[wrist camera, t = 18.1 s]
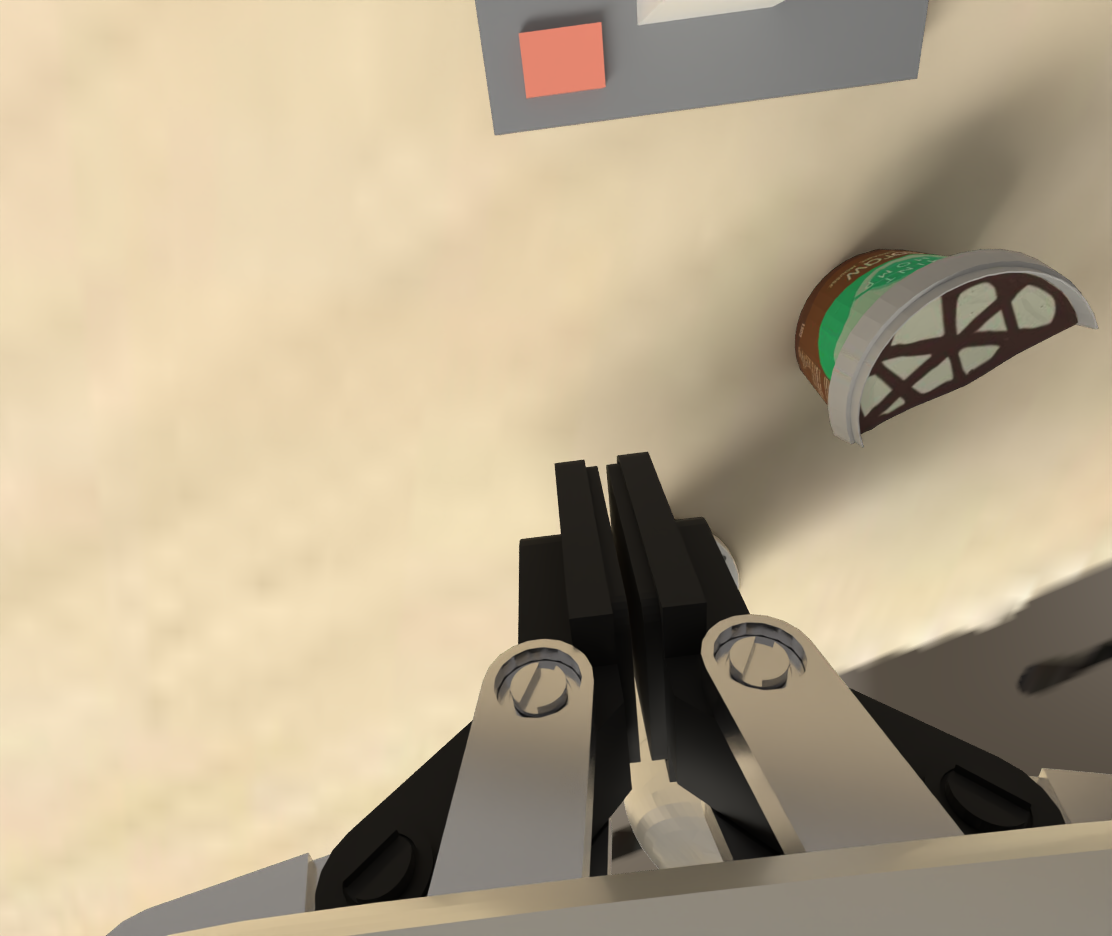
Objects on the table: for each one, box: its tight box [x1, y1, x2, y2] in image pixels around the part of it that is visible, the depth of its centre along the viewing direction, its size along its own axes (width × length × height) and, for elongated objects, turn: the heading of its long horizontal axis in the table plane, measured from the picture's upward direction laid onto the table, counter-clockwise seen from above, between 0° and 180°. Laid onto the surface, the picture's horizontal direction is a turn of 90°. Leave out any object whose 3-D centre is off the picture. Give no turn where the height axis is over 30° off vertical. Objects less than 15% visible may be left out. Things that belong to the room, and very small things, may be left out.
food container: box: [795, 249, 1098, 448], centre depth 32 cm, size 12×6×10 cm, turn 122°
